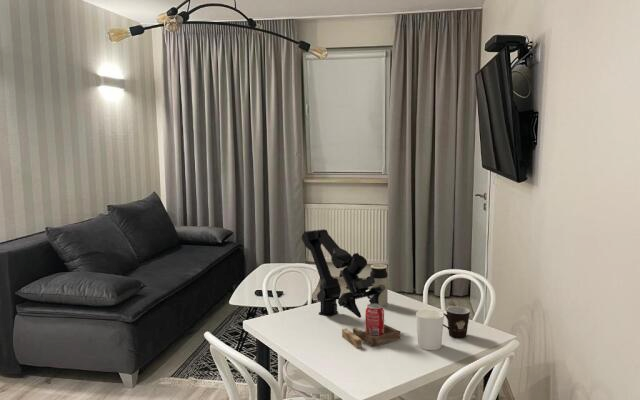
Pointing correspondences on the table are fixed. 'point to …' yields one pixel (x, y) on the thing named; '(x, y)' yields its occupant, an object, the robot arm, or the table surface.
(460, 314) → the coffee mug
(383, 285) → the travel mug
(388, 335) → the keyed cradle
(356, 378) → the table surface
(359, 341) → the door edge rail
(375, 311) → the soda can
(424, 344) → the candle holder
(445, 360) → the table surface
